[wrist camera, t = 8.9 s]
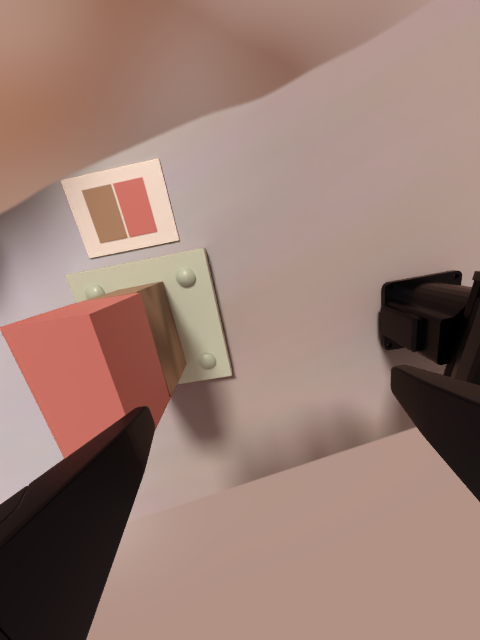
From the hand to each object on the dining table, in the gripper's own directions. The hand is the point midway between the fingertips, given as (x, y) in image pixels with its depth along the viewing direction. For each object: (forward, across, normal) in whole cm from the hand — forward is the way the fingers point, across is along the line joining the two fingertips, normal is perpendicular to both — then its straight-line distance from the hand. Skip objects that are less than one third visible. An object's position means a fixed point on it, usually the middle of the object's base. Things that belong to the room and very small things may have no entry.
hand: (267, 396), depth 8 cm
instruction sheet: (+13, +9, -10) cm, 19 cm away
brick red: (+7, +9, 0) cm, 11 cm away
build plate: (+13, +9, 0) cm, 16 cm away
